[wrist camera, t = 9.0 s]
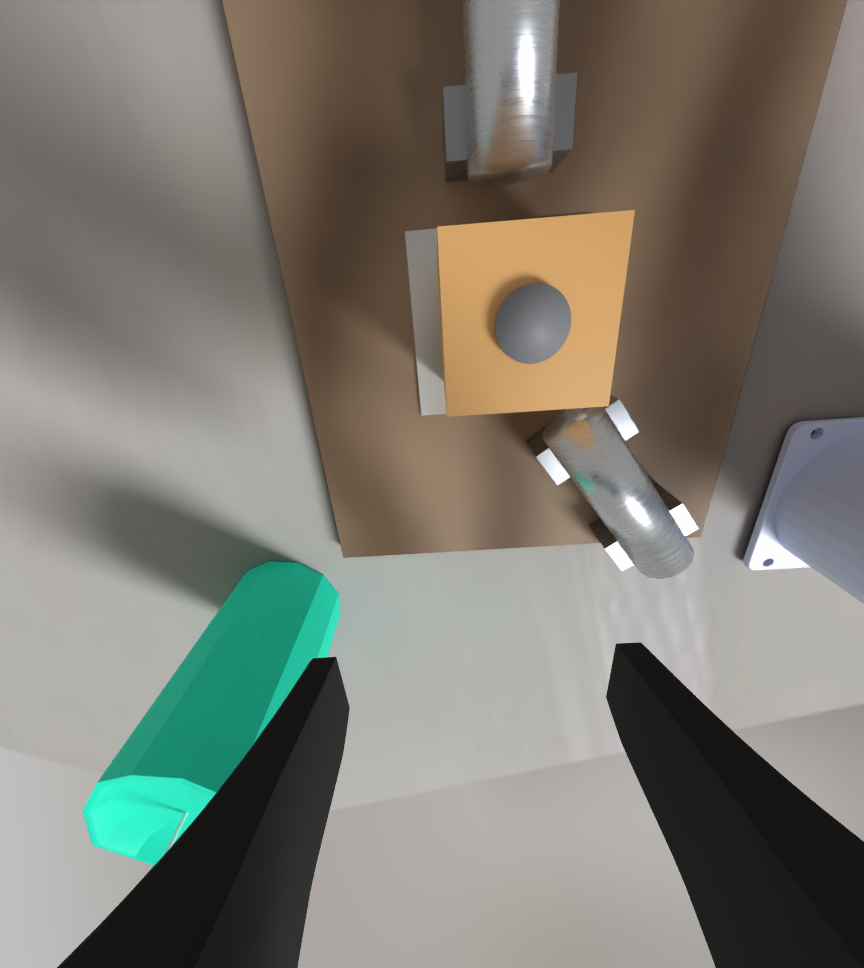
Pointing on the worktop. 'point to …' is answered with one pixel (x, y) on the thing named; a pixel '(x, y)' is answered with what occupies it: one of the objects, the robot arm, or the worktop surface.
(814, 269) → the worktop surface
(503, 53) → the shaft
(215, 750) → the candle
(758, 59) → the board
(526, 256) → the tan wooden block
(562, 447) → the shaft
